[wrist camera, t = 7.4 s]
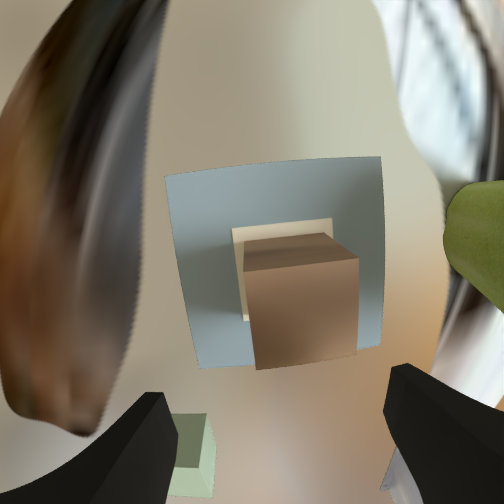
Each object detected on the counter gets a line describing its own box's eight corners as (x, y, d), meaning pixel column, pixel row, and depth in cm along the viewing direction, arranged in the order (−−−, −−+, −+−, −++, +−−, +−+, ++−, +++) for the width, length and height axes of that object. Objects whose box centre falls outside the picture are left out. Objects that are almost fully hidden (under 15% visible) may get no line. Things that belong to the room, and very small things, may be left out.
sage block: (216, 447, 19) (212, 497, 15) (167, 446, 19) (156, 494, 15) (206, 413, 18) (198, 468, 14) (153, 413, 19) (135, 463, 14)
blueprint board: (376, 340, 17) (380, 345, 17) (200, 363, 17) (199, 369, 17) (375, 157, 15) (381, 156, 14) (167, 176, 15) (164, 175, 14)
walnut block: (327, 305, 16) (356, 355, 11) (253, 314, 16) (256, 370, 11) (323, 232, 15) (358, 258, 10) (244, 241, 15) (242, 272, 10)
